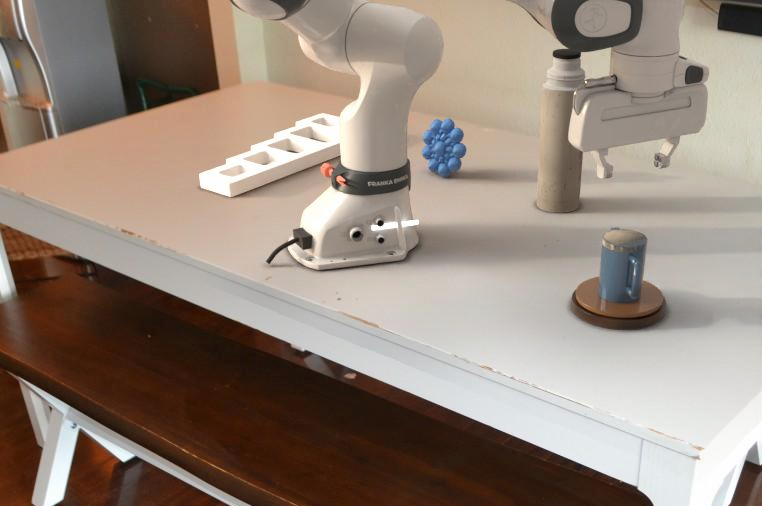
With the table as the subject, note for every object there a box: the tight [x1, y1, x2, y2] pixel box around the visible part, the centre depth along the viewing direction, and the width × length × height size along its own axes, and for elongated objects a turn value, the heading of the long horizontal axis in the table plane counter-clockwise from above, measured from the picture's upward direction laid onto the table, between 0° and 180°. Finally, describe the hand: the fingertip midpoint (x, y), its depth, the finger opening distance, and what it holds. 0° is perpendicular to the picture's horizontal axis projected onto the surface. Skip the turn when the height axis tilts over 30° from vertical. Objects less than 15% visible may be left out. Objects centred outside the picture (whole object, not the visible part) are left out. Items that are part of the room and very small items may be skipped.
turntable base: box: [570, 289, 667, 331], centre depth 148 cm, size 14×14×2 cm
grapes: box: [421, 117, 467, 178], centre depth 195 cm, size 12×7×12 cm, turn 45°
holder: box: [198, 112, 341, 198], centre depth 207 cm, size 45×18×3 cm, turn 143°
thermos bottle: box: [536, 48, 587, 214], centre depth 177 cm, size 8×8×28 cm
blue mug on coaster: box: [575, 226, 664, 318], centre depth 145 cm, size 13×13×10 cm
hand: (633, 172), depth 137 cm, fingers open, 8 cm apart
